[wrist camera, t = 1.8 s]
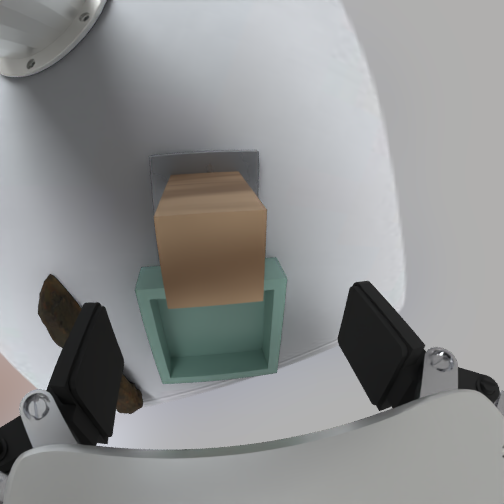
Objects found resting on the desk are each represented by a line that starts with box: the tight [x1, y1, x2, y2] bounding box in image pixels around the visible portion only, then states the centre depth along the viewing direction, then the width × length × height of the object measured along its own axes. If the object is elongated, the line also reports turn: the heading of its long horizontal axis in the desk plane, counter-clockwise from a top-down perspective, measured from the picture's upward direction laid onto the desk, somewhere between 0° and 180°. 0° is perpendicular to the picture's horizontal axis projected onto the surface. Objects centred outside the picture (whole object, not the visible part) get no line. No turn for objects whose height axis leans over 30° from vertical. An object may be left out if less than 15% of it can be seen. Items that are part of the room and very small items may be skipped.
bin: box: [135, 257, 287, 384], centre depth 26 cm, size 12×12×4 cm
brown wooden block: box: [154, 171, 267, 309], centre depth 17 cm, size 5×5×9 cm
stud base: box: [149, 150, 259, 215], centre depth 20 cm, size 8×8×4 cm
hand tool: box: [38, 274, 143, 414], centre depth 25 cm, size 19×4×5 cm, turn 8°
